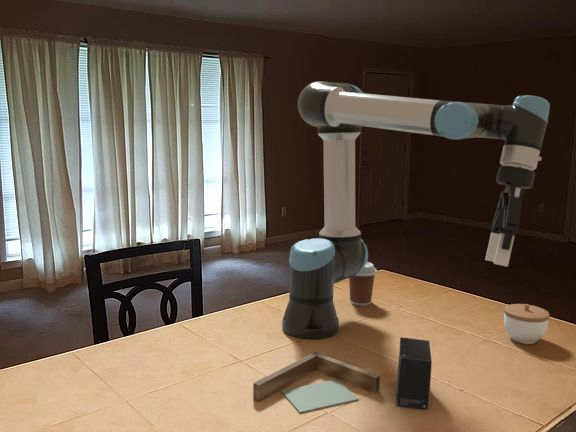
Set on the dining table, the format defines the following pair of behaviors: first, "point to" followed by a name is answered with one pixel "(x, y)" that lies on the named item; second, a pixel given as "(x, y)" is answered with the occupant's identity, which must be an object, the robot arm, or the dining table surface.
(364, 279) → the coffee cup
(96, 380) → the dining table surface
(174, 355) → the dining table surface
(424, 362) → the small box
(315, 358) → the walnut corner fence
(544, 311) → the lidded jar
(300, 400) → the pad
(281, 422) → the dining table surface
